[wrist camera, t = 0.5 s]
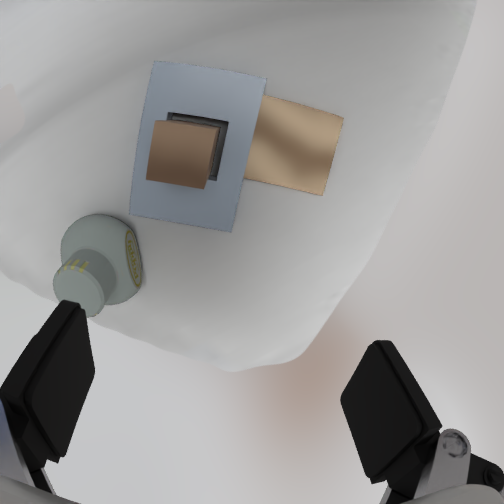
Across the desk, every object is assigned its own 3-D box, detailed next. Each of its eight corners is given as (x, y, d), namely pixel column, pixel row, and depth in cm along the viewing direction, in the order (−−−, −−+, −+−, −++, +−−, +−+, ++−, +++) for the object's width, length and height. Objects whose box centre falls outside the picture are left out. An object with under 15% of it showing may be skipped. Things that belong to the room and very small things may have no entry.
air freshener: (149, 287, 36) (128, 339, 27) (93, 289, 36) (63, 337, 27) (132, 203, 32) (98, 237, 23) (72, 211, 31) (28, 244, 22)
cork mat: (260, 95, 28) (261, 94, 27) (341, 117, 29) (343, 117, 29) (241, 176, 31) (241, 177, 31) (320, 194, 33) (322, 195, 32)
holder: (160, 65, 26) (154, 60, 23) (264, 81, 27) (267, 78, 25) (135, 207, 32) (129, 214, 30) (231, 224, 34) (231, 232, 31)
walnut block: (178, 120, 28) (155, 120, 19) (220, 127, 29) (215, 129, 20) (170, 161, 30) (145, 179, 21) (212, 168, 31) (203, 189, 22)
